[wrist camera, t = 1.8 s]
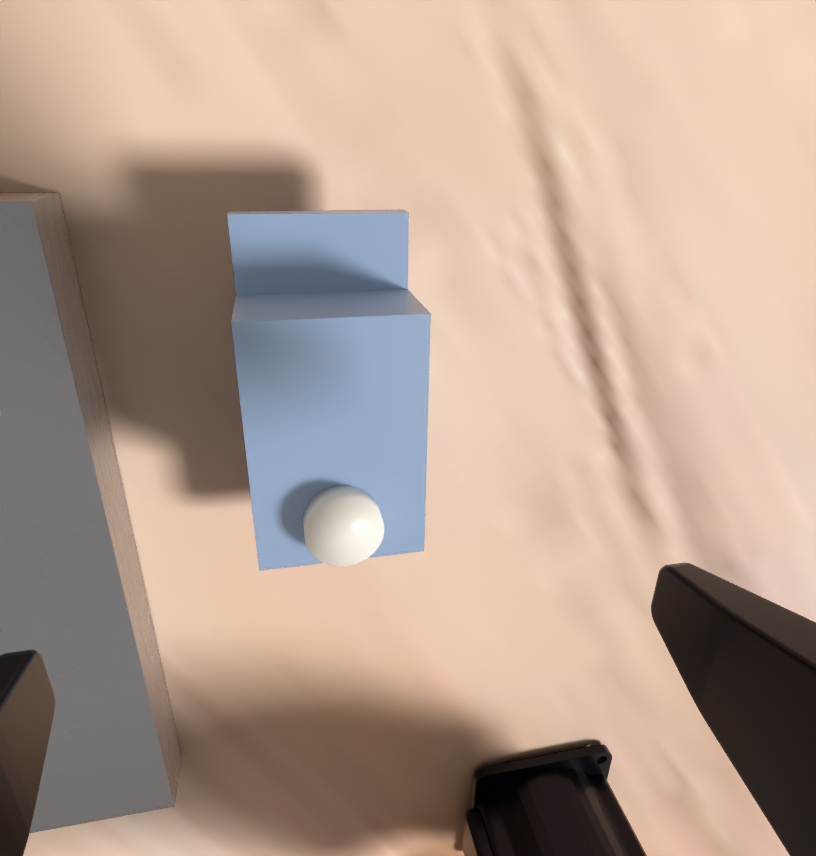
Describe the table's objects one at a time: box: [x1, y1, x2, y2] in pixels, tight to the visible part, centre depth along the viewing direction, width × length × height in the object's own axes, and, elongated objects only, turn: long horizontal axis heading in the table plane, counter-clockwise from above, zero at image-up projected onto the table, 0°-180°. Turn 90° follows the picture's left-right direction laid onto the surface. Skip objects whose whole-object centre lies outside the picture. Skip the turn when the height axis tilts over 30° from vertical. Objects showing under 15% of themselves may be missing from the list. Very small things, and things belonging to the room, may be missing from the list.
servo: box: [227, 210, 431, 571], centre depth 16 cm, size 4×10×6 cm, turn 179°
